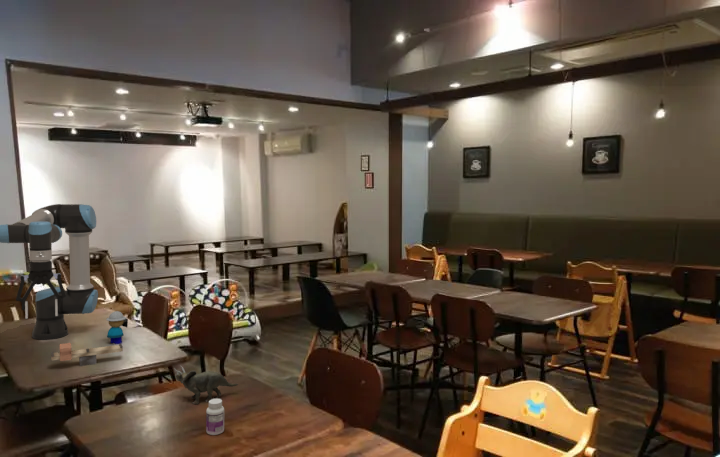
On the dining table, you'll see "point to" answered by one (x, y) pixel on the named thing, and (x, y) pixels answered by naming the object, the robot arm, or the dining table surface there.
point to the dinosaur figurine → (202, 383)
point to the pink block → (65, 352)
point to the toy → (116, 326)
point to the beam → (89, 354)
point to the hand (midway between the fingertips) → (41, 316)
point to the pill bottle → (215, 417)
